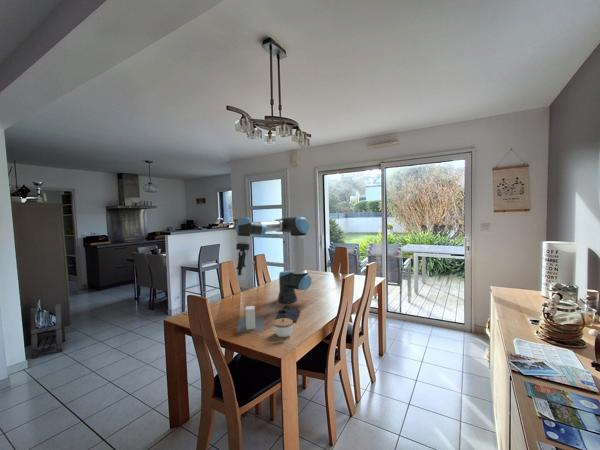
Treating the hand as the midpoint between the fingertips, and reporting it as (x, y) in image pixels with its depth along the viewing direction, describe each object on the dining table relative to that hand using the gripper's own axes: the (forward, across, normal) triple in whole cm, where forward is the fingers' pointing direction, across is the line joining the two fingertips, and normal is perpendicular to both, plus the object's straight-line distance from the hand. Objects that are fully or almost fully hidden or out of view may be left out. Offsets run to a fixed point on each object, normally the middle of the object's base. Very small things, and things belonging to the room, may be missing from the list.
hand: (240, 279), depth 158 cm
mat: (+28, -7, +8) cm, 30 cm away
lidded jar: (+28, +11, +27) cm, 40 cm away
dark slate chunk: (+25, -17, +31) cm, 43 cm away
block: (+28, -1, +8) cm, 29 cm away
